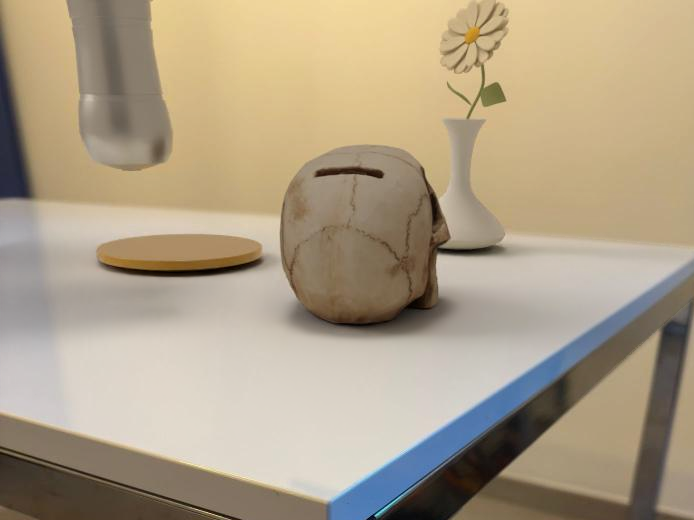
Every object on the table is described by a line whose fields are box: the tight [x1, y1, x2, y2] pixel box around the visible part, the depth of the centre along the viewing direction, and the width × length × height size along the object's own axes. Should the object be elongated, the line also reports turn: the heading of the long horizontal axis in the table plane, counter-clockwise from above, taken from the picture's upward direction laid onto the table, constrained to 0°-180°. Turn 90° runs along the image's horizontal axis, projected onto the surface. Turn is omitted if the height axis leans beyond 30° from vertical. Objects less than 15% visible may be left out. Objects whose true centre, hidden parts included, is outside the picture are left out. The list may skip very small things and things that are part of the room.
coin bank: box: [279, 143, 451, 325], centre depth 63 cm, size 16×17×13 cm
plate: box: [95, 233, 264, 273], centre depth 82 cm, size 17×17×2 cm
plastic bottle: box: [65, 0, 174, 172], centre depth 54 cm, size 6×7×20 cm
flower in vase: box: [438, 0, 510, 250], centre depth 87 cm, size 13×11×25 cm
